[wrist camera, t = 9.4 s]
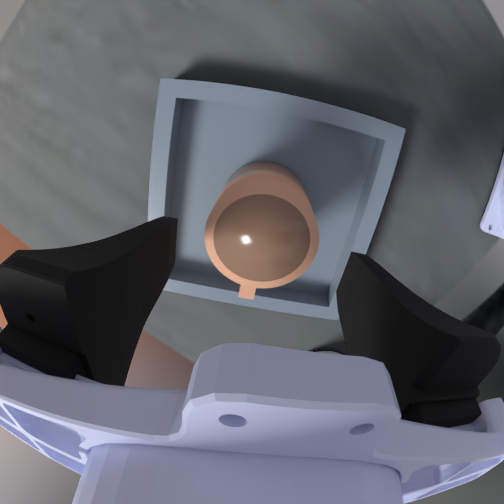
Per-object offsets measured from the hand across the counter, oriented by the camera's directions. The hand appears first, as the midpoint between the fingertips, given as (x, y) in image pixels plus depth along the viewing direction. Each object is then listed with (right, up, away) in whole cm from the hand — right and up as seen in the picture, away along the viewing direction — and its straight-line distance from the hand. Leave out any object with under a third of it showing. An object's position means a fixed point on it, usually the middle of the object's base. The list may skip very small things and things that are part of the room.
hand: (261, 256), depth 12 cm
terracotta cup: (0, +3, +5) cm, 6 cm away
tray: (0, +3, +6) cm, 7 cm away
